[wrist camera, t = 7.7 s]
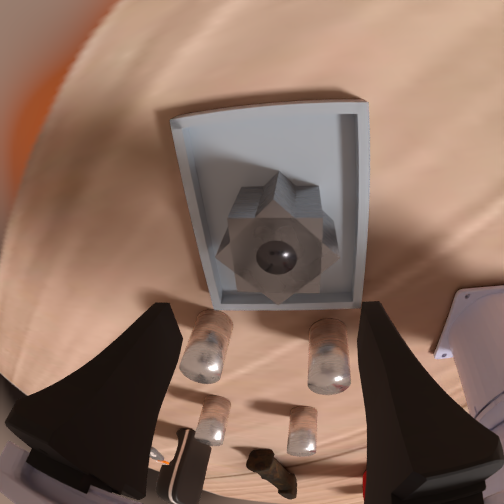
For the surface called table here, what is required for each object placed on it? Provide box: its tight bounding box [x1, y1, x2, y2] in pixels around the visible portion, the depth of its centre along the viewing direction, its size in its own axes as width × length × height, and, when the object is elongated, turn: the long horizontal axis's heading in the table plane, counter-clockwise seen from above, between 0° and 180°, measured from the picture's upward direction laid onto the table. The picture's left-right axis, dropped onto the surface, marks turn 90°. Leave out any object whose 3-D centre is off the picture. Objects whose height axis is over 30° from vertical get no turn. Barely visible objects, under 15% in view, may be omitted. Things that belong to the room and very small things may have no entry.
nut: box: [215, 171, 340, 305], centre depth 17 cm, size 6×6×4 cm
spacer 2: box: [194, 395, 231, 446], centre depth 31 cm, size 3×3×5 cm
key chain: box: [150, 447, 169, 465], centre depth 50 cm, size 13×4×2 cm, turn 12°
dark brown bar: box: [246, 450, 297, 499], centre depth 42 cm, size 19×4×5 cm, turn 20°
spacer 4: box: [308, 319, 351, 395], centre depth 22 cm, size 3×3×5 cm
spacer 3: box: [287, 406, 317, 456], centre depth 30 cm, size 3×3×5 cm
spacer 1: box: [180, 310, 233, 384], centre depth 23 cm, size 3×3×5 cm
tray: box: [170, 99, 370, 310], centre depth 19 cm, size 10×13×2 cm
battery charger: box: [156, 429, 211, 504], centre depth 36 cm, size 7×4×11 cm, turn 18°
